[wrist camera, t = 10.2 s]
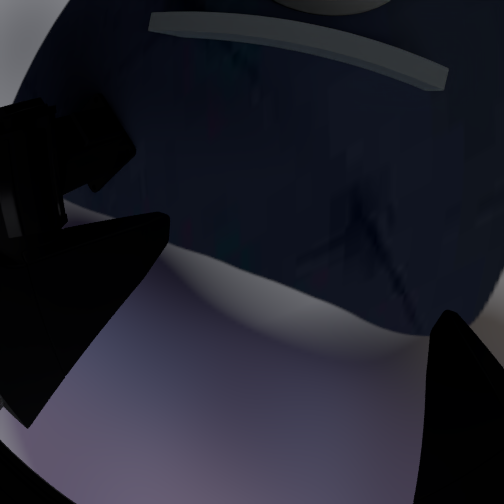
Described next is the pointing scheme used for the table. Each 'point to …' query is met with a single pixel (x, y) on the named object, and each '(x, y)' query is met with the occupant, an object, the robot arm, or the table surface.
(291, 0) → the grey round disc
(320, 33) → the low wall
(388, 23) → the table surface
